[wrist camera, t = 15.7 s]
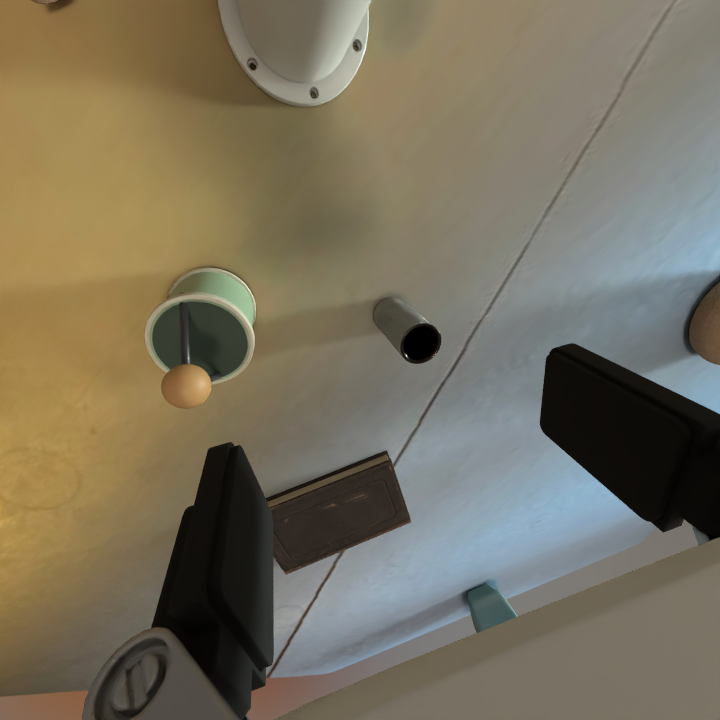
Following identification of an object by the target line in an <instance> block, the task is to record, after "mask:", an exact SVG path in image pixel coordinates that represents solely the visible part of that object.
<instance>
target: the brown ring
mask: <svg viewBox="0 0 720 720" xmlns="http://www.w3.org/2000/svg"><path fill="white" fill-rule="evenodd" d="M32 1H34V2H36V3H40V4H50V3H54V2H57V1H58V0H32Z"/></svg>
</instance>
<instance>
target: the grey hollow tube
mask: <svg viewBox="0 0 720 720" xmlns="http://www.w3.org/2000/svg"><path fill="white" fill-rule="evenodd" d="M374 321H375V323H376V325H377V327H378V328H379V329H380V330H381V331H382V333H383V334H384V335H385V336H386V337H387V339H388V340H389V341H390V342H391V343H392V345H393V346H394V347H395V348H396V349H397V351H398V352H399V353H400V354H401V355H402V357H403V358H404V359H405V360H406V361H408V362H410V363H414V364H420V363H424V362H427V361H429V360H430V359H432V358H433V357H434V356H435V355H436V353H437V352H438V350H439V348H440V345H441V334H440V332H439V330H438V329H437V328H436V327H435V326H434V325H433V324H431V323H430V322H429V321H428V320H426V319H425V318H424V317H422V316H421V315H420V314H418V313H417V312H416V311H415V310H413V309H412V308H411V307H409V306H408V305H407V304H406V303H404V302H403V301H401V300H400V299H398V298H393V297H391V298H386V299H384V300H382V301H381V302H380V303H379V304H378V305H377V307H376V308H375V311H374Z"/></svg>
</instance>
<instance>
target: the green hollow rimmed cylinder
mask: <svg viewBox="0 0 720 720" xmlns="http://www.w3.org/2000/svg"><path fill="white" fill-rule="evenodd" d="M255 317H256V304H255V300H254V297H253V295H252V293H251V291H250V289H249V288H248V287H247V285H246V284H245V283H244V282H243V281H242V280H241V279H239V278H238V277H237V276H235V275H233V274H232V273H230V272H227V271H225V270H222V269H217V268H198V269H194V270H191V271H189V272H187V273H185V274H184V275H182V276H181V277H180V278H179V279H178V280H177V281H176V282H175V283H174V285H173V286H172V288H171V290H170V293H169V297H168V299H166V300H165V301H163V302H162V303H161V304H160V305H159V306H157V307H156V309H155V310H154V311H153V312H152V314H151V315H150V317H149V319H148V321H147V324H146V327H145V344H146V347H147V350H148V352H149V354H150V356H151V358H152V359H153V361H154V362H155V363H156V364H157V365H158V366H159V367H160V368H161V369H162V370H163V371H164V372H166V373H167V374H166V375H165V376H164V378H163V381H162V385H161V389H162V393H163V396H164V398H165V399H166V400H167V401H168V402H169V403H170V404H171V405H173V406H175V407H178V408H183V409H188V408H193V407H196V406H198V405H200V404H202V403H203V402H204V401H205V400H206V399H207V398H208V396H209V394H210V392H211V384H218V383H222V382H225V381H228V380H230V379H232V378H234V377H235V376H237V375H238V374H240V373H241V372H242V371H243V370H244V369H245V368H246V367H247V365H248V364H249V362H250V360H251V358H252V356H253V352H254V346H255V337H254V332H253V329H252V326H253V324H254V321H255Z"/></svg>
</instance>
